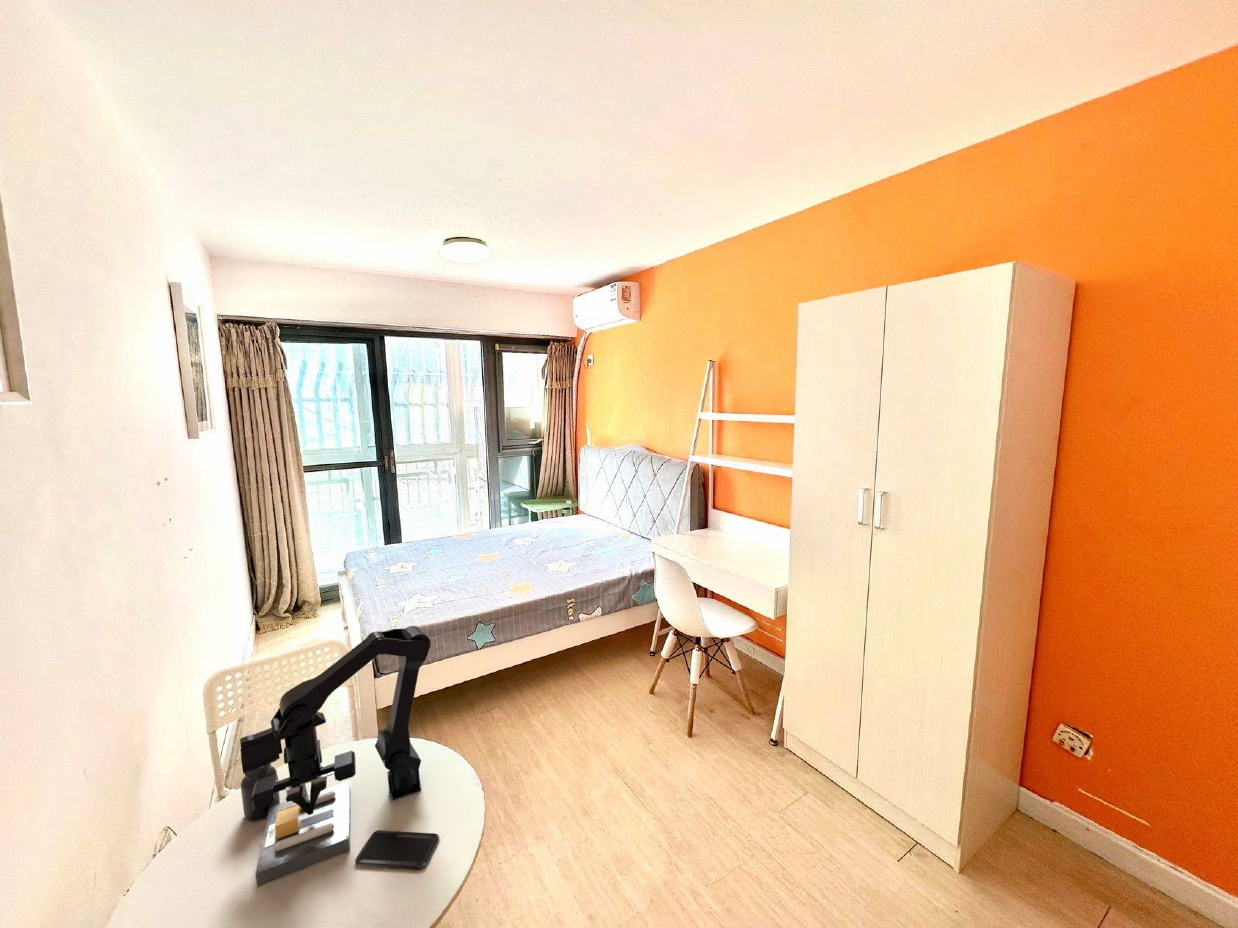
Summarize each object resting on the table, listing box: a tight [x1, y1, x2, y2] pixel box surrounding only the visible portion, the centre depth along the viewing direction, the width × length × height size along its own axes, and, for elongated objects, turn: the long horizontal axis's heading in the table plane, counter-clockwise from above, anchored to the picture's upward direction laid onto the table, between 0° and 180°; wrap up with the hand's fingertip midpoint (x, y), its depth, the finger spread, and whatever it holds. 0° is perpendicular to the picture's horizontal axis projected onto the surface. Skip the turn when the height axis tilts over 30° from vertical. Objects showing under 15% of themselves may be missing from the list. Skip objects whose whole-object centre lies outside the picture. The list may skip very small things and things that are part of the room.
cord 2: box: [281, 791, 336, 811], centre depth 113 cm, size 11×2×2 cm, turn 118°
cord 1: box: [275, 823, 334, 851], centre depth 104 cm, size 11×2×2 cm, turn 118°
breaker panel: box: [255, 780, 352, 888], centre depth 109 cm, size 16×18×3 cm
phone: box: [354, 829, 440, 871], centre depth 104 cm, size 8×1×15 cm
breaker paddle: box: [275, 805, 301, 839], centre depth 107 cm, size 4×4×3 cm
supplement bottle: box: [240, 763, 281, 822], centre depth 115 cm, size 7×7×12 cm
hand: (311, 812), depth 108 cm, fingers closed
